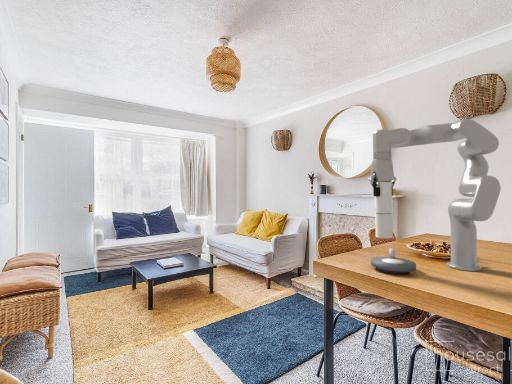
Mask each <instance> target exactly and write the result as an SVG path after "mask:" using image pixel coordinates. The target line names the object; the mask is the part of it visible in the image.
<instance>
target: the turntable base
mask: <svg viewBox="0 0 512 384" xmlns="http://www.w3.org/2000/svg"><path fill="white" fill-rule="evenodd" d="M377 269H378V271H381V272H384V273H387V274H394V275H404V274H408V273H409V271H408V272H399V271H389V270H384V269H379V268H377Z"/></svg>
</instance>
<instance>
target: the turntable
mask: <svg viewBox="0 0 512 384" xmlns="http://www.w3.org/2000/svg"><path fill="white" fill-rule="evenodd" d="M388 254H389V256H374V257H372V258H370V265H371V266H372V267H374V268H377V269H378V268H379V269H384V270H389V271H399V272H408V273H409V272H414V271H415V270H417V263H416V262H415V261H413V260H410V259H407V258H403V257H397V256H396V249H395V248H389V249H388ZM379 269H378V270H379Z"/></svg>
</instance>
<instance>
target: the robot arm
mask: <svg viewBox="0 0 512 384" xmlns="http://www.w3.org/2000/svg"><path fill="white" fill-rule="evenodd" d="M456 141H460V142H459V143H458V145H457V151H458V154H459V155H460V156H461V158H462V159H463V161H464V165H465V167H464V171H463V172H462V176H461V178H460V182H459V185H458V192H459V194H460V195H461V196H463V197H468V198H457V199H454V200H452V201H451V202H450V203H449V204H448V206H447V212H448V213H447V214H448V217H449V222H450V223H449V224H450V261H447V262H446V266H447V267H449V268H451V269H456V270H460V271H468V272H469V271H470V272H479V271H482V267H481V266H480V265H479V264H478V263H479V262H481V259H480V258H479V257H478V253H477V252H478V251H477V250H478V249H477V247H478V245H477V244H478V243H477V242H478V239H477V237H478V236H477V235H478V231H477V230H478V229H477V225H476V223H475V222H485V221H488V220H489V219H491V217H492V215H493V213H494V212H495V208H496V207H497V203H498V200H499V196H500V193H501V189H502V188H501V187H502V186H501V183H500V181H499V179H498V178H496V177H495V176H492V175H488V173H489V163H488V161H487V159H486V157H485V156H484V155H489V154H492V153H494V152H495V151H497V150H498V149H499V145H500V143H499V142H500V141H499V138H498V137H497V136H496V135H495V134H494V133H492V132H491V130H489V129H487V128H486V127H484V126H483V125H482V124H481V123H480V122H477V121H476V120H473V119H471V118H462V119H460V120H455V121H454V122H448V123H438V124H428V125H424V126H420V127H417V128H414V129H410V130H409V129H408V128H404V127H403V128H402V127H399V128H393V129H387V128H385V129H378V130H377V129H376V130H375V131H373V133H372V157H373V159H372V161H371V163H370V164H371V165H370V177H368V181H369V182H370V185H371V187H372V189H373V197H375V196H380V187H379V185H380V182H392V197H393V195H394V194H393V193H394V191H393V190H394V189H393V188H394V186H395V184H396V181H397V177H396V176H395V173H394V172H395V171H394V166H393V165H394V164H393V160H392V149H399V148H406V147H414V146H426V145H429V144H430V145H431V144H440V143H441V144H442V143H450V142H456ZM376 182H377V184H376Z"/></svg>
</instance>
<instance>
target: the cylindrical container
mask: <svg viewBox="0 0 512 384" xmlns="http://www.w3.org/2000/svg"><path fill="white" fill-rule="evenodd" d="M376 184H377V182H376ZM379 187H380V196H374V224H375V225H374V226H375V227H374V228H375V238H378V239H392V238H393V237H394V231H393V227H394V225H393V196H392V182H380V185H379Z"/></svg>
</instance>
